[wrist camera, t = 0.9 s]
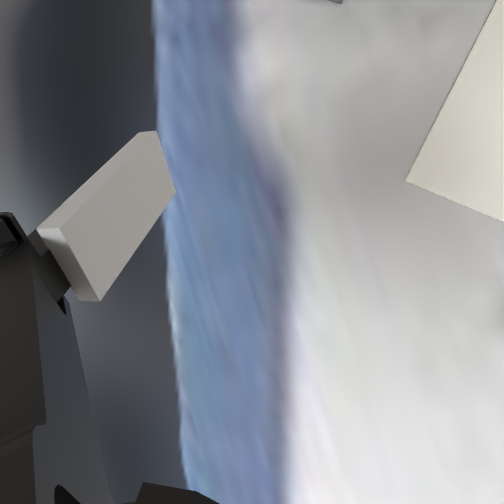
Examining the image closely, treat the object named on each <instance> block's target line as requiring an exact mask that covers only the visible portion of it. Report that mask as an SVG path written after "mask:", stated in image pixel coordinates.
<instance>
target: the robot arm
mask: <svg viewBox="0 0 504 504" xmlns="http://www.w3.org/2000/svg"><path fill="white" fill-rule="evenodd" d="M175 193H176V190H175V187H174V184H173V181H172V178H171V175H170V172H169V169H168V166H167V162H166V159H165V156H164V153H163V150H162V147H161V144H160V141H159V138H158V135H157V132H156V131H150V132H139V133H138V134H137V135H136V136H135V137H134V138H133V139H131V140H130V141H129V142H128V143H127V144H126V145H125V146H124V147H123V148H122V149H121V150H120V151H119V152H118V153H117V154H115V155H114V156H113V157H112V158H111V159H110V160H109V161H108V162H107V163H106V164H105V165H104V166H103V167H101V168H100V169H99V170H98V171H97V172H96V173H95V174H94V175H93V176H92V177H91V178H90V179H89V180H88V181H87V182H85V183H84V184H83V185H82V186H81V187H80V188H79V189H78V190H77V191H76V192H75V193H74V194H73V195H71V196H70V197H69V198H68V199H67V200H66V201H65V202H64V203H63V204H62V205H61V206H60V207H58V208H57V210H55V211H54V212H53V213H52V214H51V215H50V216H49V217H48V218H47V219H46V220H44V221H43V222H42V223H41V224H40V225H39V226H38V227H37V228H36V229H35V230H34V231H33V232H32V233H31V234H30V235H28V236H26V234H25V233H24V231H23V229H22V228H21V226H20V225H19V223H18V221H17V220H16V218H15V216H14V215H13V213H9V212H2V213H0V504H114V503H113V501H112V498H111V496H110V493H109V491H108V487H107V482H106V477H105V473H104V468H103V464H102V459H101V453H100V449H99V444H98V439H97V435H96V430H95V426H94V420H93V415H92V411H91V406H90V401H89V397H88V391H87V386H86V382H85V377H84V372H83V368H82V363H81V358H80V353H79V349H78V344H77V339H76V334H75V329H74V324H73V320H72V315H71V310H70V305H69V303H68V301H67V299H66V298H65V296H64V294H65V293H66V291H67V290H68V289H69V288H70V287H71V288H72V289H73V291H74V293H75V294H76V296H77V298H78V299H79V300H80V301H101V299H102V298H103V296H104V295H105V294H106V292H107V290H108V289H109V287H110V286H111V285H112V283H113V282H114V281H115V279H116V278H117V276H118V275H119V273H120V272H121V271H122V269H123V268H124V266H125V265H126V263H127V262H128V260H129V259H130V258H131V256H132V255H133V253H134V252H135V250H136V249H137V247H138V246H139V245H140V243H141V242H142V240H143V239H144V237H145V236H146V235H147V233H148V232H149V230H150V229H151V227H152V226H153V225H154V223H155V221H156V220H157V219H158V217H159V216H160V214H161V213H162V212H163V210H164V209H165V207H166V206H167V204H168V203H169V202H170V200H171V199H172V197H173V196H174V194H175ZM123 504H219V503H217V502H215V501H214V500H212V499H210V498H208V497H206V496H204V495H202V494H200V493H198V492H197V491H191V490H185V489H179V488H173V487H168V486H162V485H156V484H150V483H145V482H143V484H142V487H141V489H140V492H139V494H138V497H137V499H136V500H133V501H130V502H126V503H123Z"/></svg>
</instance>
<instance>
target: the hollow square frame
mask: <svg viewBox="0 0 504 504" xmlns="http://www.w3.org/2000/svg"><path fill="white" fill-rule="evenodd" d="M329 1H332V2H336V3H339V4H341V3H342V1H343V0H329Z"/></svg>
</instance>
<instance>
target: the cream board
mask: <svg viewBox="0 0 504 504" xmlns="http://www.w3.org/2000/svg"><path fill="white" fill-rule="evenodd" d="M405 181H406V182H408V183H411V184H413V185H416V186H418V187H420V188H423V189H425V190H428V191H430V192H432V193H435V194H437V195H440V196H442V197H445V198H447V199H449V200H452V201H454V202H457V203H459V204H461V205H464V206H466V207H469V208H471V209H473V210H476V211H478V212H481V213H483V214H486V215H488V216H490V217H493V218H495V219H498V220H500V221H502V222H504V0H497V1H496V3H495V5H494V7H493V9H492V11H491V13H490V15H489V17H488V19H487V21H486V23H485V24H484V26H483V28H482V30H481V32H480V34H479V36H478V38H477V40H476V42H475V44H474V46H473V48H472V50H471V52H470V54H469V56H468V58H467V60H466V62H465V64H464V66H463V68H462V70H461V72H460V74H459V76H458V77H457V79H456V81H455V83H454V85H453V87H452V89H451V91H450V93H449V95H448V97H447V99H446V101H445V103H444V105H443V107H442V109H441V111H440V113H439V115H438V117H437V119H436V121H435V123H434V125H433V127H432V129H431V130H430V132H429V134H428V136H427V138H426V140H425V142H424V144H423V146H422V148H421V150H420V152H419V154H418V156H417V158H416V160H415V162H414V164H413V166H412V168H411V170H410V172H409V174H408V176H407V178H406V180H405Z"/></svg>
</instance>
